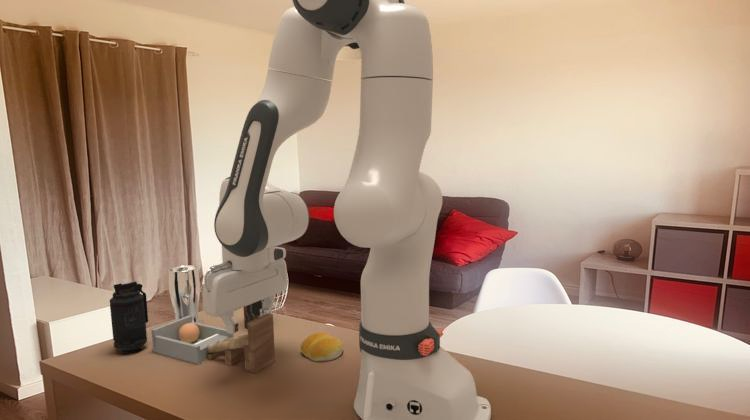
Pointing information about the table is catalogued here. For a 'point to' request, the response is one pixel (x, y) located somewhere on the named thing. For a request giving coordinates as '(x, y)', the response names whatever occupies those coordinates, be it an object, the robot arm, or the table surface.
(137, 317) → the grenade
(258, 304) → the deodorant
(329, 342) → the bread roll
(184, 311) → the beer glass
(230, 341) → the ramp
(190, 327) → the ball
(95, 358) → the table surface
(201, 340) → the grey tray
